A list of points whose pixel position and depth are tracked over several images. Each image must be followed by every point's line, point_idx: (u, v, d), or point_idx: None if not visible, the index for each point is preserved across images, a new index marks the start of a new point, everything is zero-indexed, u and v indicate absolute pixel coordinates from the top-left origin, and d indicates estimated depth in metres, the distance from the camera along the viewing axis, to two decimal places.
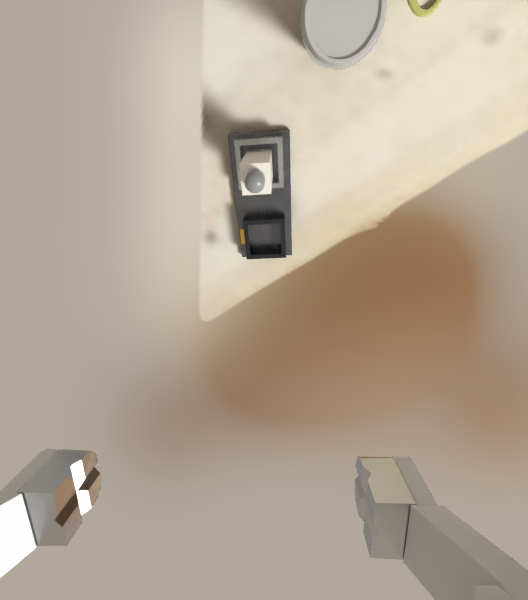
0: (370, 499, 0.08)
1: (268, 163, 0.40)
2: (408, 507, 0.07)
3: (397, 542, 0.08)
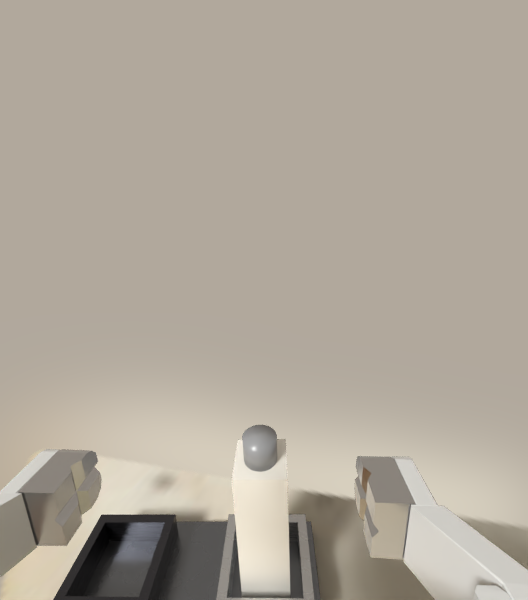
0: (370, 499, 0.08)
1: (285, 477, 0.22)
2: (408, 507, 0.07)
3: (397, 542, 0.08)
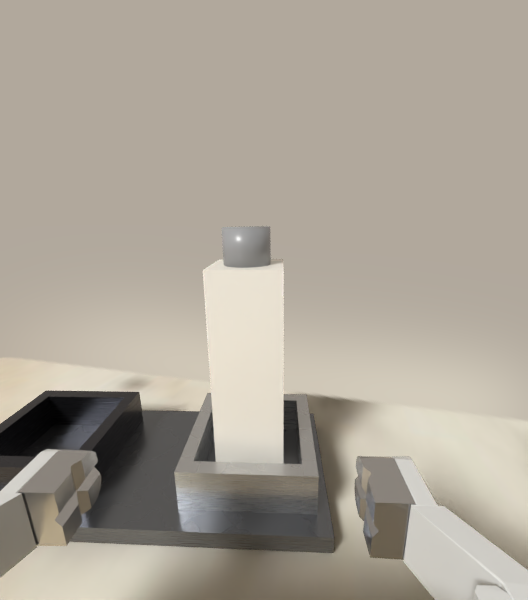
0: (370, 499, 0.08)
1: (281, 269, 0.15)
2: (408, 507, 0.07)
3: (397, 542, 0.08)
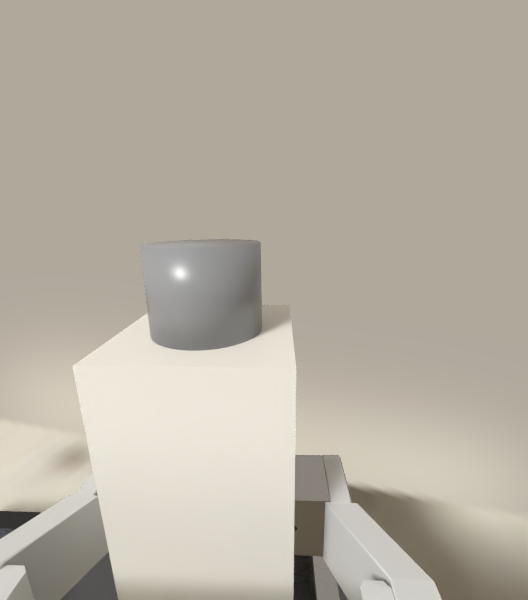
0: None
1: (288, 364, 0.05)
2: (323, 504, 0.07)
3: (316, 539, 0.08)
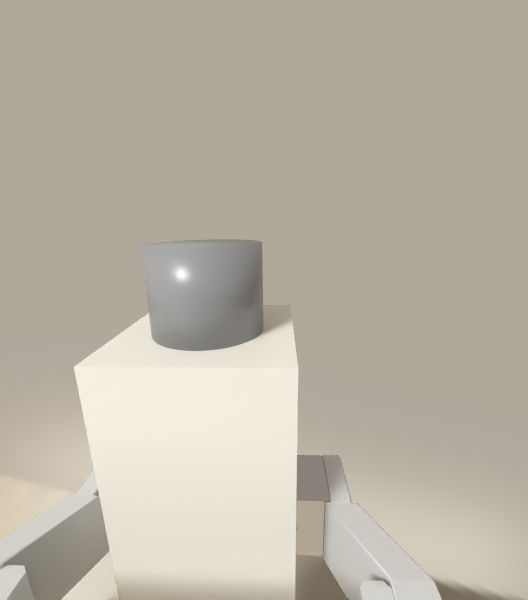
0: None
1: (290, 364, 0.05)
2: (323, 504, 0.07)
3: (316, 539, 0.08)
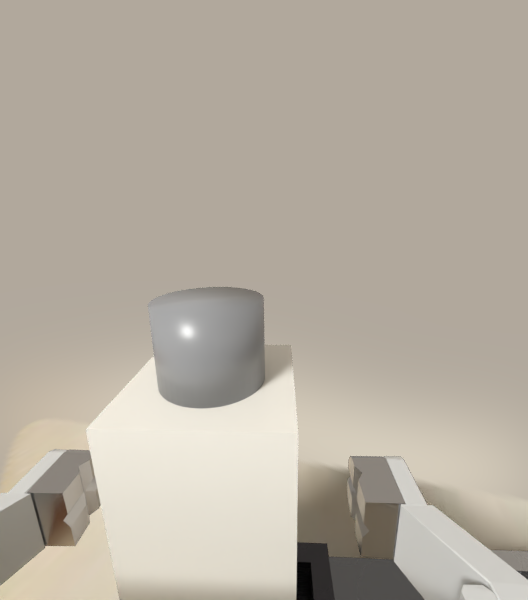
0: (360, 499, 0.08)
1: (291, 427, 0.06)
2: (398, 507, 0.07)
3: (387, 542, 0.08)
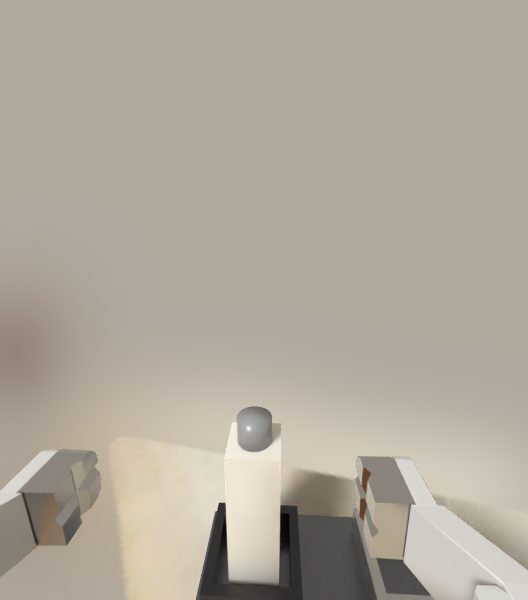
0: (370, 499, 0.08)
1: (279, 459, 0.21)
2: (408, 507, 0.07)
3: (397, 542, 0.08)
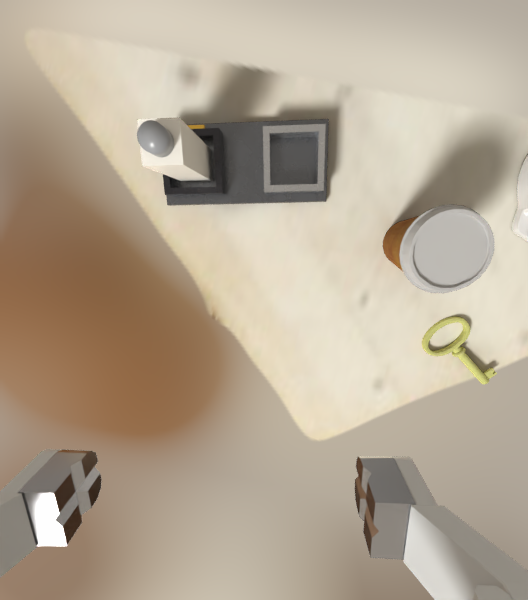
0: (370, 499, 0.08)
1: (182, 163, 0.29)
2: (408, 507, 0.07)
3: (397, 542, 0.08)
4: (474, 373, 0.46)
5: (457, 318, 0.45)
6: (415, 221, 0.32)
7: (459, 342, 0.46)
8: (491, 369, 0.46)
